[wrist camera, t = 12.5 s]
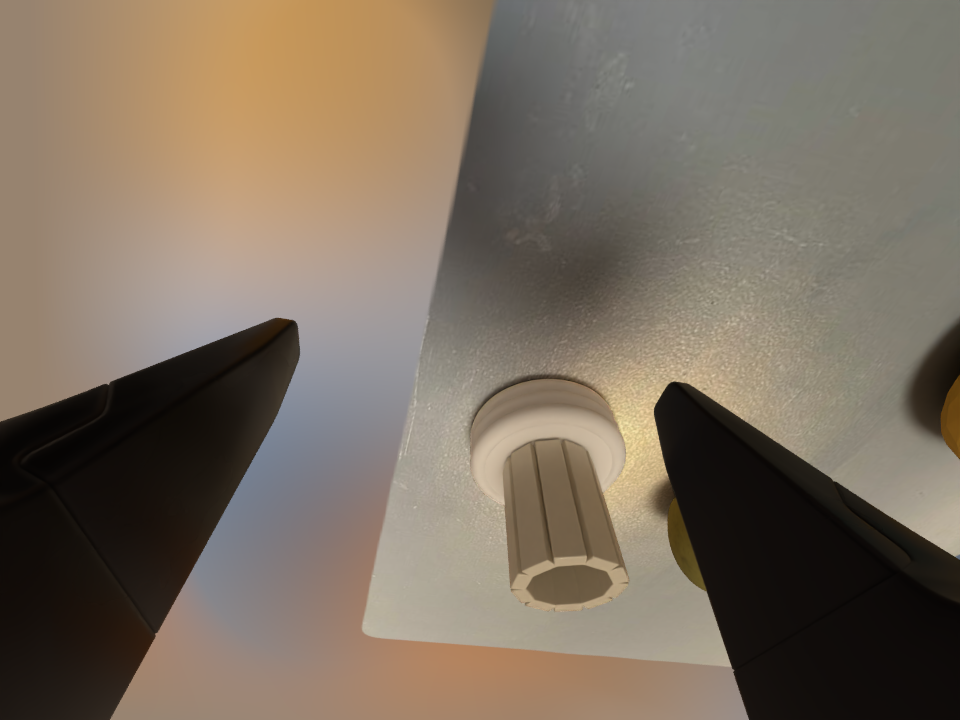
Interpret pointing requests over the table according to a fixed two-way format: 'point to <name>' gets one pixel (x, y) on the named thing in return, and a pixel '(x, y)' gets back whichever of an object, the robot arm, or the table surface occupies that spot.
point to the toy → (952, 418)
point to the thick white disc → (543, 430)
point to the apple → (682, 546)
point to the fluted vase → (559, 530)
